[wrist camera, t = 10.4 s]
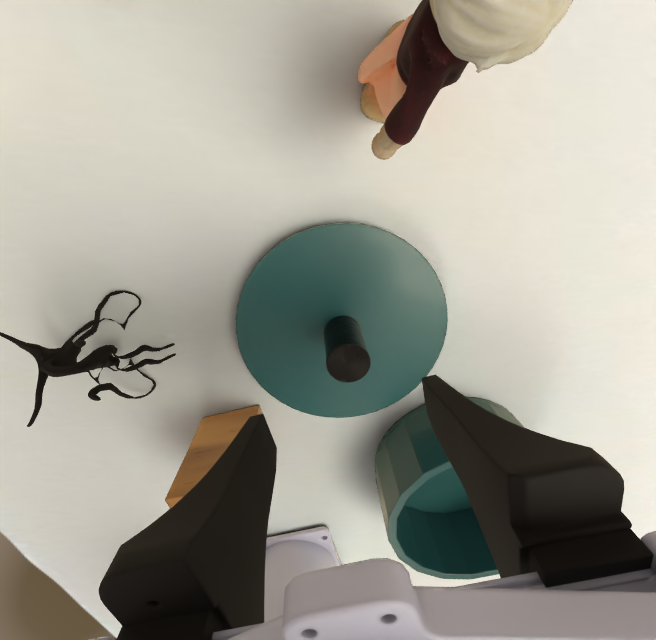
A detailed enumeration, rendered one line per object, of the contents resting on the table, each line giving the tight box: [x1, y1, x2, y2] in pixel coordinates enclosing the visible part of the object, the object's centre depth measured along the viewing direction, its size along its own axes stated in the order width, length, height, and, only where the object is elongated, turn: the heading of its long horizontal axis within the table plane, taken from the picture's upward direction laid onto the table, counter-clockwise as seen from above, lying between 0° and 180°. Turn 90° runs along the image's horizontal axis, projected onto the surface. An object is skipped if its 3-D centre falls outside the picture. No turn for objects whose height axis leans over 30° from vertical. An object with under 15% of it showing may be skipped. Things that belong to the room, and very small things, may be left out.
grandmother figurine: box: [358, 0, 573, 160], centre depth 12 cm, size 8×4×13 cm, turn 164°
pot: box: [375, 397, 523, 579], centre depth 25 cm, size 12×13×6 cm
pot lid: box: [236, 223, 447, 418], centre depth 20 cm, size 14×14×5 cm
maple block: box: [165, 405, 262, 509], centre depth 23 cm, size 4×4×7 cm
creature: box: [0, 291, 176, 427], centre depth 20 cm, size 8×5×8 cm
